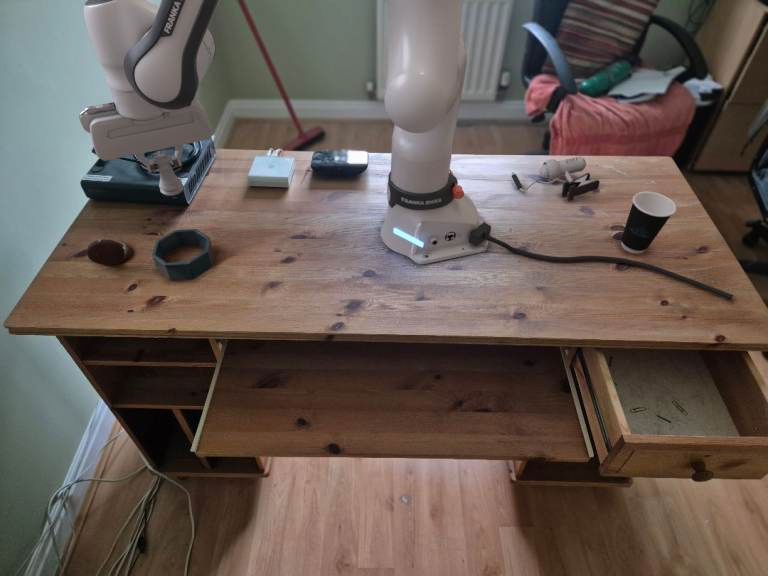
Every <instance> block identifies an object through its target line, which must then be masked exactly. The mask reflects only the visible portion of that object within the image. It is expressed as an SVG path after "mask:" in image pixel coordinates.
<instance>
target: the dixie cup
mask: <svg viewBox="0 0 768 576" xmlns="http://www.w3.org/2000/svg"><path fill="white" fill-rule="evenodd" d="M676 211H677V206H676V204H675V202H674V201H673V200H672V199H671V198H669V197H668V196H666V195H664V194H661V193H659V192H655V191H640V192H637V193H635V194H634V195H633V197H632V203H631V207H630V209H629V213H628V217H627V219H626V223H625V226H624V229H623V232H622V235H621V238H620V239H621V241H620V245H621V247H622V248H623V250H625V251H627V252H628V253H631V254H636V255H639V254H643V253H644V252H645V251H646V250H647V249H648V248H649V247H650V246H651V244H652V243H653V242H654V240H655V239H656V237H657V236H658V234H659V233H660V232H661V230H663V227H664V226H665V225H666V223H667V222H668V220H669V219H670V218H671V216H672V215H674V214H675V213H676Z"/></svg>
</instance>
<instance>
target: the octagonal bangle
mask: <svg viewBox="0 0 768 576" xmlns="http://www.w3.org/2000/svg"><path fill="white" fill-rule="evenodd" d="M188 247H189V248H190V247H201V248H202V249H203V250H204V251H203V252H201V253H200V254H198V255H196V256H195V257H193V258H191V259H190V260H189V261H181V262H180V261H179V262H166V261H165V258H166V257H167V256H168V255H170V254H171V253H173V252H176V251H177V250H179V249H181V248H188ZM215 254H216V252H215V249H214V247H213V243H212V239H211V237H210V236H208V235H207V234H205V233H203V232H202V231H201V230H199V229H197V228H189V229H188V228H187V229H175V230H172V231H171V232H169V233H167V234H165V235H164V236H162V237H161V238H159V239H157V240H156V241H155V243H154V246H153V249H152V252H151V258H152V259H153V262H154V265H155V268H156V269H157V272H159V273H160V274H162V275H163V276H164V277H165V278H166V279H168V280H169V281H173V282H174V281H186V280H194V279H195V280H196V279H197V278H199V277H200V276H201V275H203V274H204V273H206V272H207V271H209V270H210V269H212V268H213V265H214V259H215Z"/></svg>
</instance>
